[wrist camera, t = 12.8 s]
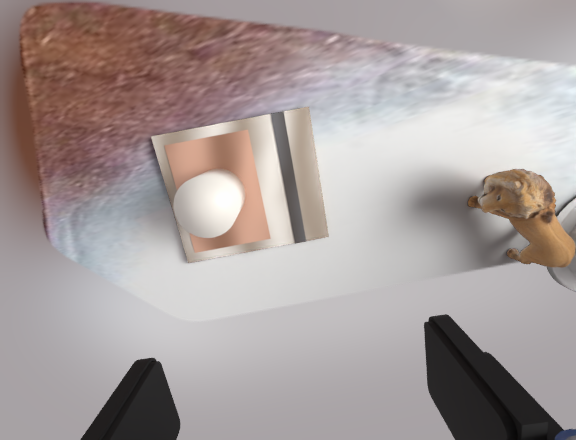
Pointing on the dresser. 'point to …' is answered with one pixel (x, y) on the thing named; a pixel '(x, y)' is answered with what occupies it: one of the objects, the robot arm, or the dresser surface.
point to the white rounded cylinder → (209, 203)
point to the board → (251, 180)
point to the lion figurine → (528, 216)
